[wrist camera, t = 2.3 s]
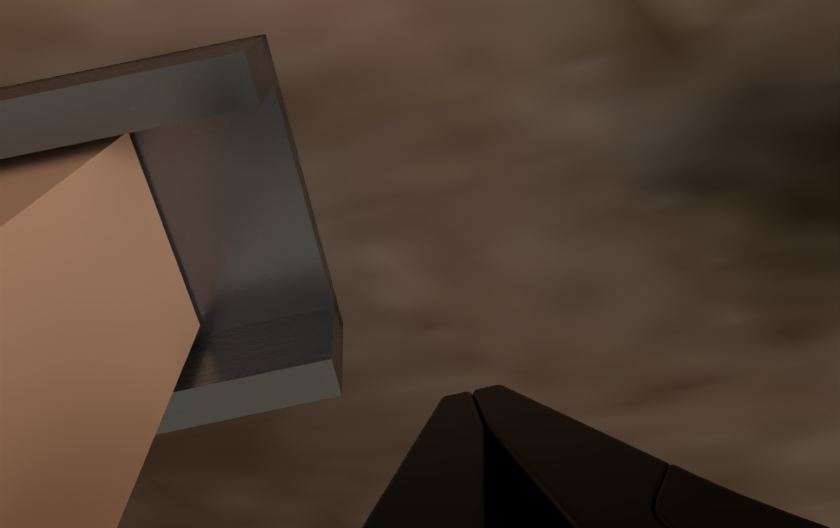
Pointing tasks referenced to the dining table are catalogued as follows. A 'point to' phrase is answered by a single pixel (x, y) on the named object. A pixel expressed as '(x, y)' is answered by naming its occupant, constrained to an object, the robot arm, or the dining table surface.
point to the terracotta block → (83, 332)
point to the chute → (212, 215)
